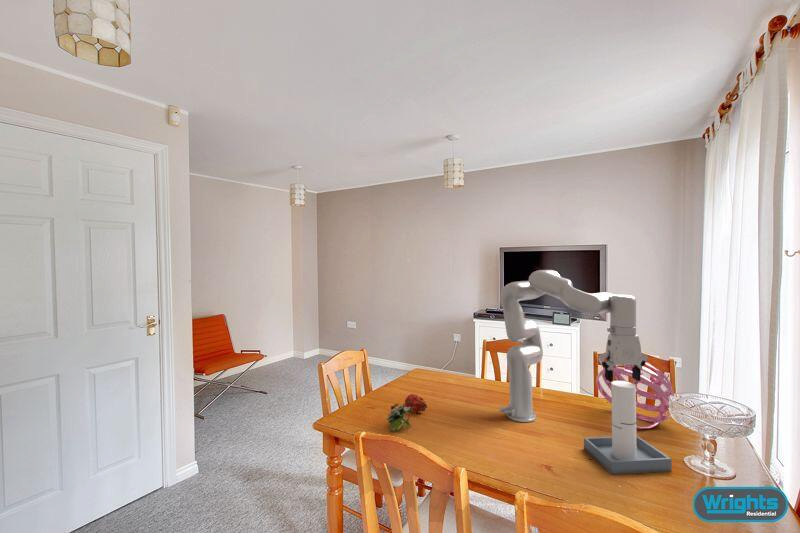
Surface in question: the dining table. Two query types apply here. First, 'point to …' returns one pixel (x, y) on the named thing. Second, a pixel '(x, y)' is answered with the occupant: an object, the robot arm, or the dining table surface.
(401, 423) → the green leafy plant
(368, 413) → the dining table surface
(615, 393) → the cylindrical container
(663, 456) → the tray
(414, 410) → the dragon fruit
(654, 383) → the spiral basket
